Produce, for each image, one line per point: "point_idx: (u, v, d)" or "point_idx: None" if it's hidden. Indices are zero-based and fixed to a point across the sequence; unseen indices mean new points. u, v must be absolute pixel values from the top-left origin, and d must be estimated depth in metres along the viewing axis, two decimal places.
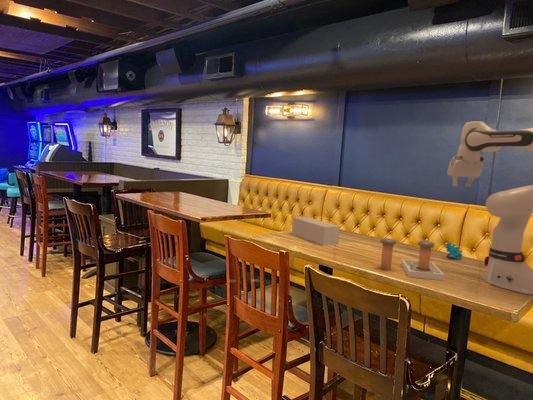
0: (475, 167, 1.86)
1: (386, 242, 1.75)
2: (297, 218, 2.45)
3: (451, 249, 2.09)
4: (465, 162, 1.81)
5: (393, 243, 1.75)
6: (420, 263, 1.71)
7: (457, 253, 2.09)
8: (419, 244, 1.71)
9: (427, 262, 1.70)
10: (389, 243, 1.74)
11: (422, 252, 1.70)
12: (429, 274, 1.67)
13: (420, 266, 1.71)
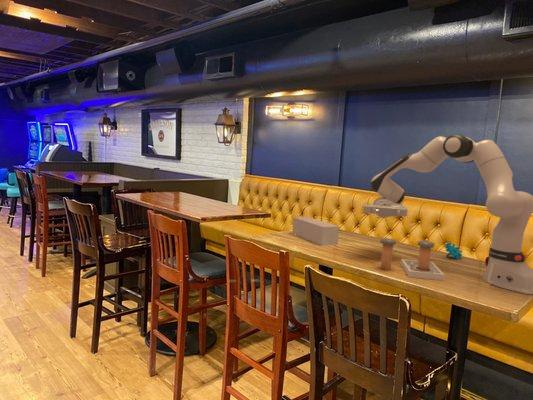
0: (395, 207, 1.96)
1: (386, 242, 1.75)
2: (297, 218, 2.45)
3: (451, 249, 2.10)
4: (377, 205, 2.00)
5: (393, 243, 1.75)
6: (420, 263, 1.71)
7: (457, 253, 2.09)
8: (419, 244, 1.71)
9: (427, 262, 1.70)
10: (389, 243, 1.74)
11: (422, 252, 1.70)
12: (429, 274, 1.67)
13: (420, 266, 1.71)
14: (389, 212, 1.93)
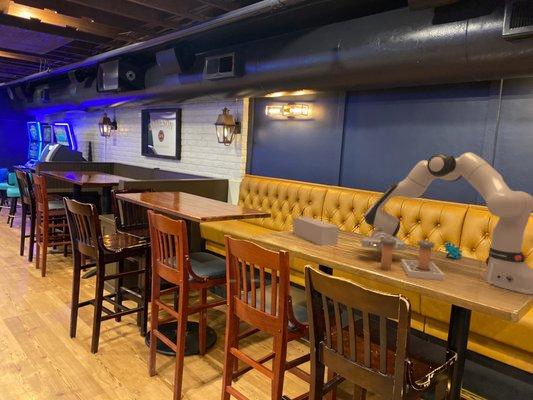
0: None
1: (386, 242, 1.75)
2: (298, 218, 2.46)
3: (450, 249, 2.10)
4: (375, 238, 1.99)
5: (393, 243, 1.75)
6: (420, 263, 1.71)
7: (456, 253, 2.10)
8: (419, 244, 1.71)
9: (427, 262, 1.70)
10: (389, 243, 1.74)
11: (422, 252, 1.70)
12: (429, 274, 1.67)
13: (420, 266, 1.71)
14: None
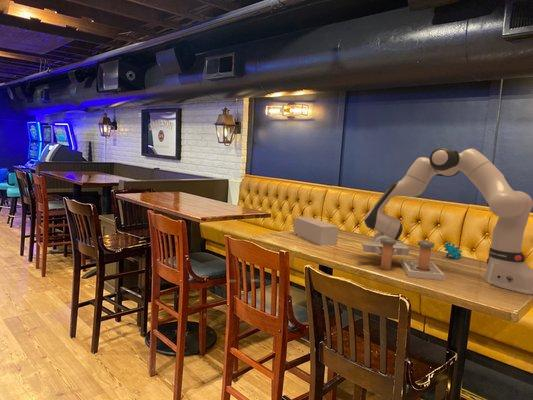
0: (396, 245, 1.85)
1: (386, 242, 1.75)
2: (298, 218, 2.46)
3: (450, 249, 2.10)
4: (377, 242, 1.89)
5: (393, 243, 1.75)
6: (420, 263, 1.71)
7: (456, 253, 2.10)
8: (419, 244, 1.71)
9: (427, 262, 1.70)
10: (389, 243, 1.74)
11: (422, 252, 1.70)
12: (429, 274, 1.67)
13: (420, 266, 1.71)
14: None
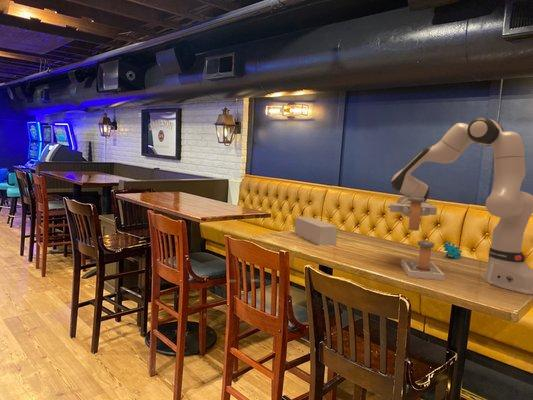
0: (423, 206, 1.84)
1: (415, 200, 1.73)
2: (299, 218, 2.46)
3: (449, 248, 2.11)
4: (403, 203, 1.87)
5: (422, 201, 1.73)
6: (420, 263, 1.71)
7: (455, 253, 2.10)
8: (419, 244, 1.71)
9: (427, 262, 1.70)
10: (418, 200, 1.73)
11: (422, 252, 1.70)
12: (429, 274, 1.67)
13: (420, 266, 1.71)
14: None
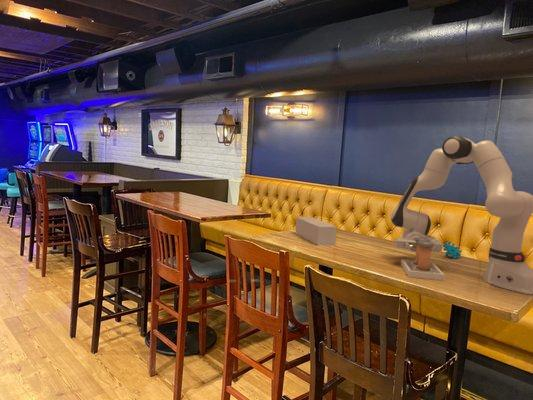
0: None
1: None
2: (300, 218, 2.47)
3: (449, 248, 2.11)
4: (409, 238, 1.90)
5: None
6: (420, 263, 1.71)
7: (455, 252, 2.11)
8: (419, 244, 1.71)
9: (427, 262, 1.70)
10: None
11: (422, 252, 1.70)
12: (429, 274, 1.67)
13: (420, 266, 1.71)
14: None
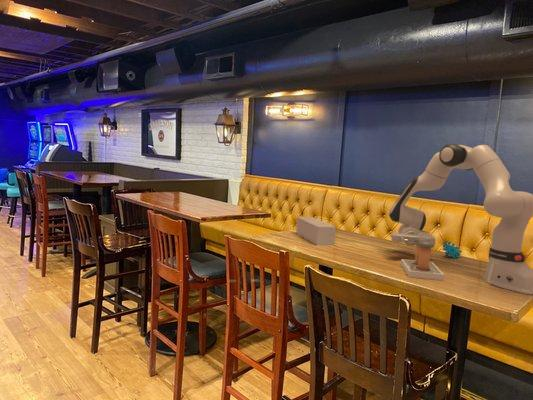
0: (423, 236, 1.99)
1: None
2: (300, 218, 2.47)
3: (448, 248, 2.12)
4: (404, 233, 2.02)
5: None
6: (420, 263, 1.71)
7: (455, 252, 2.11)
8: (419, 244, 1.71)
9: (427, 262, 1.70)
10: None
11: (422, 252, 1.70)
12: (429, 274, 1.67)
13: (420, 266, 1.71)
14: None
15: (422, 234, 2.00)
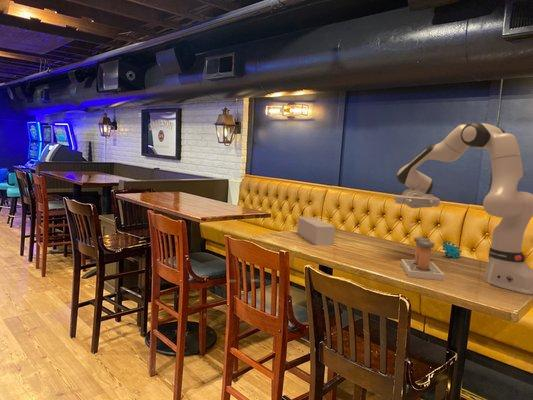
0: (427, 198, 1.97)
1: None
2: (301, 218, 2.47)
3: (448, 248, 2.12)
4: (408, 195, 2.00)
5: None
6: (420, 263, 1.71)
7: (454, 252, 2.11)
8: (419, 244, 1.71)
9: (427, 262, 1.70)
10: None
11: (422, 252, 1.70)
12: (429, 274, 1.67)
13: (420, 266, 1.71)
14: (421, 202, 1.94)
15: (426, 196, 1.98)
